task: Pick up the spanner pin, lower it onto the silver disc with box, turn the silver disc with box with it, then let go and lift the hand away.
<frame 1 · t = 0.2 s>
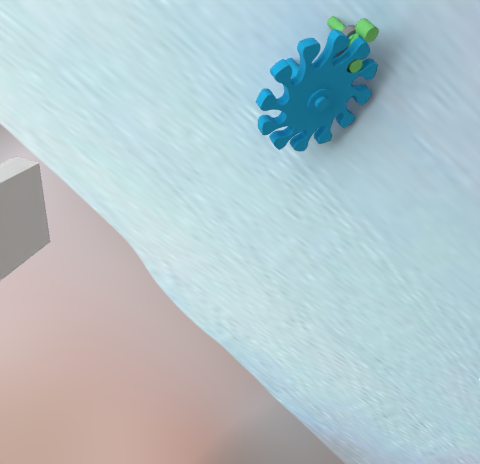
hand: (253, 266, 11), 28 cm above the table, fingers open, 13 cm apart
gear: (326, 80, 35), on the table
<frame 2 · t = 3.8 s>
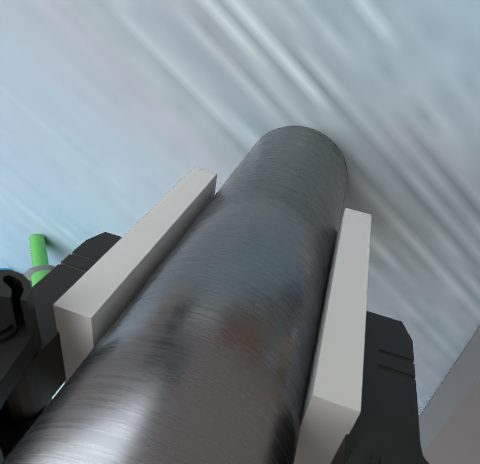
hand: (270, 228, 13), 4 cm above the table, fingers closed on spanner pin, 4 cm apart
spanner pin: (295, 176, 16), on the table, touching gripper
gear: (58, 296, 25), on the table
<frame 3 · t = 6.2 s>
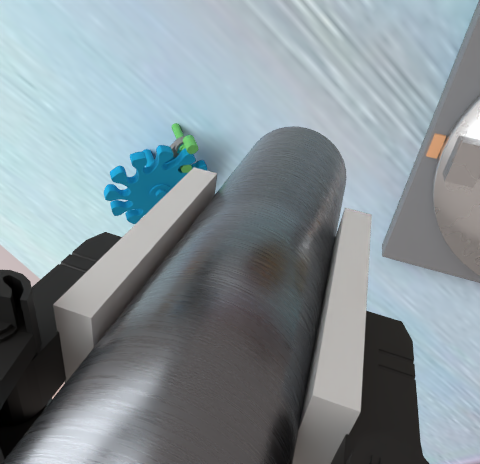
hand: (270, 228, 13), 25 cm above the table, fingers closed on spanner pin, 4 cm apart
spanner pin: (294, 176, 16), point 20 cm above the table, touching gripper
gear: (178, 168, 42), on the table
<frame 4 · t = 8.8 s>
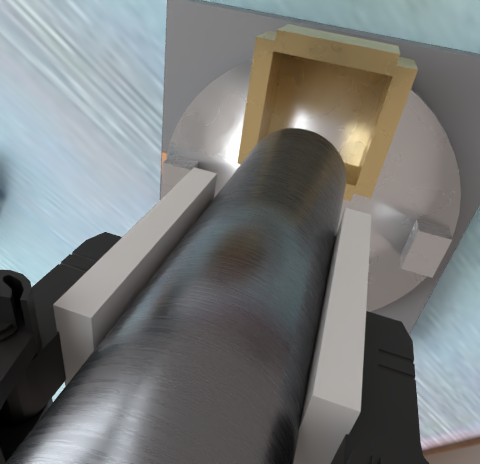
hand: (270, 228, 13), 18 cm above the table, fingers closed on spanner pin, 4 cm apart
nut plate: (305, 187, 31), on the table
silver disc with box: (297, 207, 27), point 4 cm above the table, hinge at 0.0°
spanner pin: (294, 177, 16), point 14 cm above the table, touching gripper
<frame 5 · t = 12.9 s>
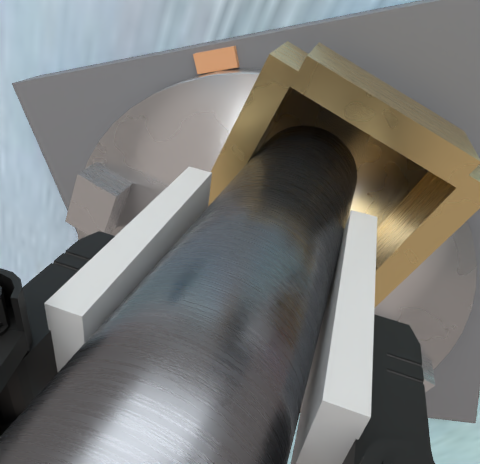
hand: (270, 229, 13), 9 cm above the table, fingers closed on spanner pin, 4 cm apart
nut plate: (267, 245, 24), on the table
silver disc with box: (252, 286, 20), point 4 cm above the table, hinge at 52.0°, touching spanner pin
spanner pin: (304, 176, 16), point 4 cm above the table, touching gripper, silver disc with box
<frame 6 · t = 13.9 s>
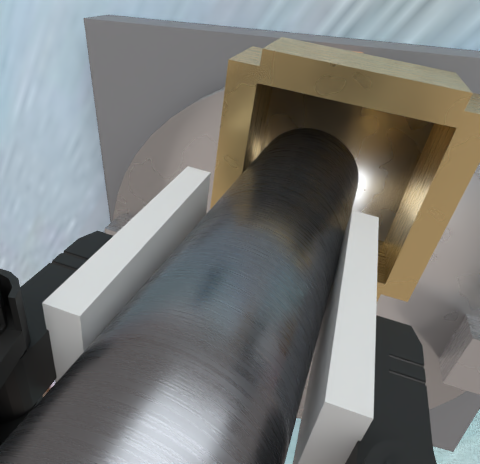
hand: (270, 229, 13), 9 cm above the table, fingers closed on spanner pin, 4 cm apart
nut plate: (305, 251, 23), on the table
silver disc with box: (294, 294, 19), point 4 cm above the table, hinge at 84.8°, touching spanner pin
spanner pin: (306, 178, 16), point 4 cm above the table, touching gripper, silver disc with box
when the fingers open (8 cm above the table, at t = 14.1 s): spanner pin stays where it is, resting on silver disc with box.
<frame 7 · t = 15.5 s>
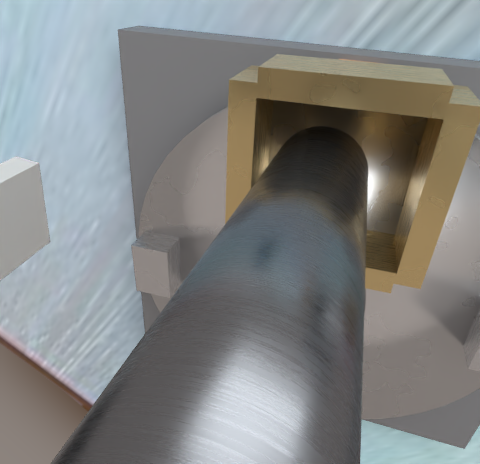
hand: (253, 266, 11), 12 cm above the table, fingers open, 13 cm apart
nut plate: (323, 252, 24), on the table
silver disc with box: (314, 292, 20), point 4 cm above the table, hinge at 91.1°, touching spanner pin
spanner pin: (319, 172, 18), point 4 cm above the table, touching silver disc with box
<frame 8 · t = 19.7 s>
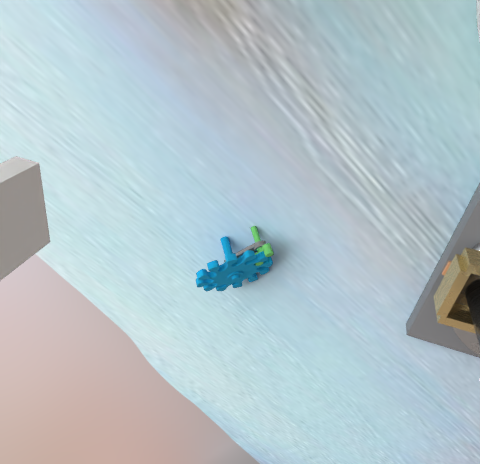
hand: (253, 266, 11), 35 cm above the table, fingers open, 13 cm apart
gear: (245, 252, 55), on the table
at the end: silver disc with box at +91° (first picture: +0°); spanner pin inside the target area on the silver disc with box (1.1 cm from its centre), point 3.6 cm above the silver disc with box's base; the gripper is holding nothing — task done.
